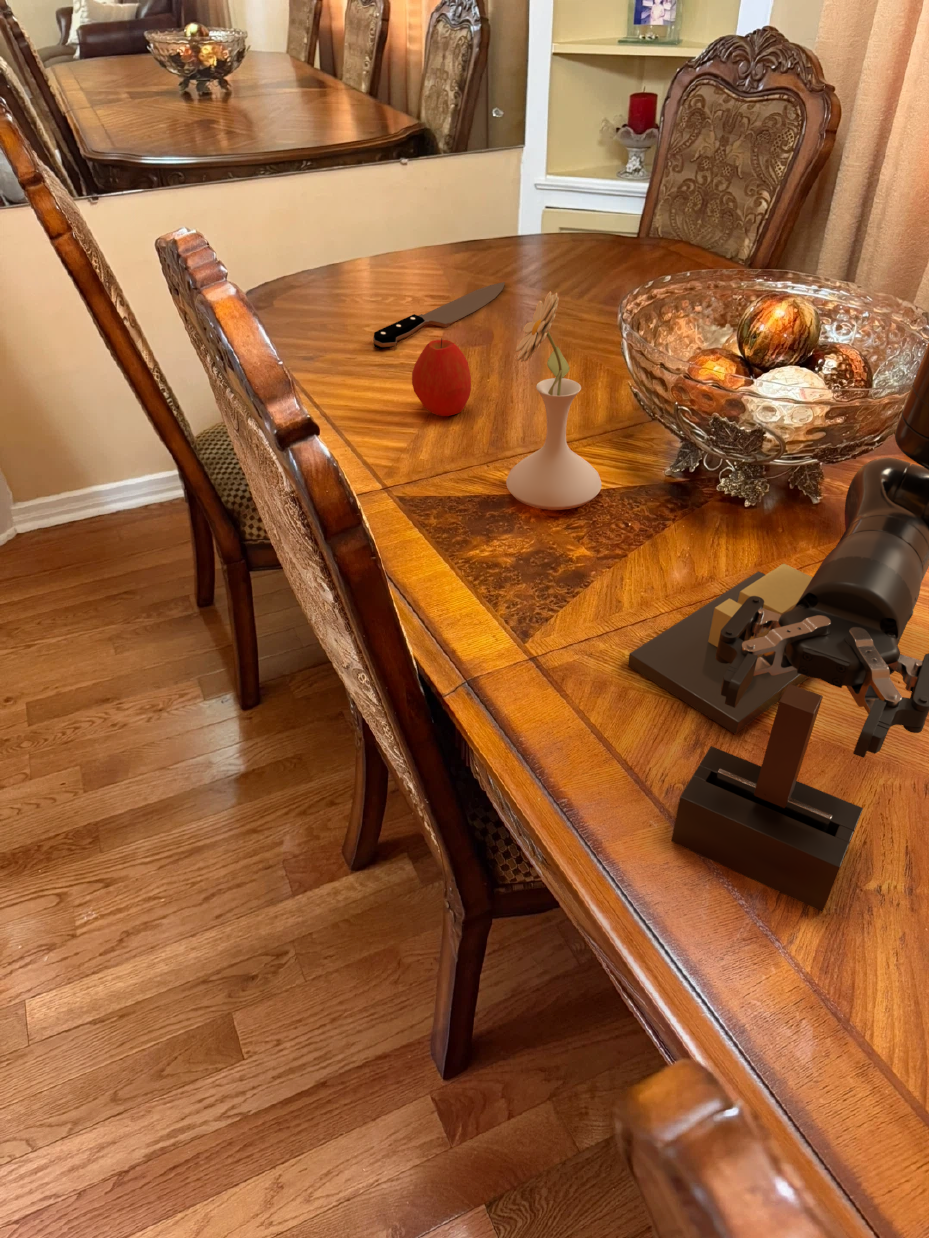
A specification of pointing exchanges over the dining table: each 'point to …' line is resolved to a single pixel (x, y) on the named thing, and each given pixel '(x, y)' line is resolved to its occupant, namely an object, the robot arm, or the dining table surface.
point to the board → (707, 668)
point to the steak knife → (436, 316)
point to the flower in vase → (552, 431)
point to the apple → (442, 378)
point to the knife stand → (764, 832)
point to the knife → (783, 761)
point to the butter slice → (725, 620)
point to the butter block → (778, 589)
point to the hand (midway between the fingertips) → (794, 721)
